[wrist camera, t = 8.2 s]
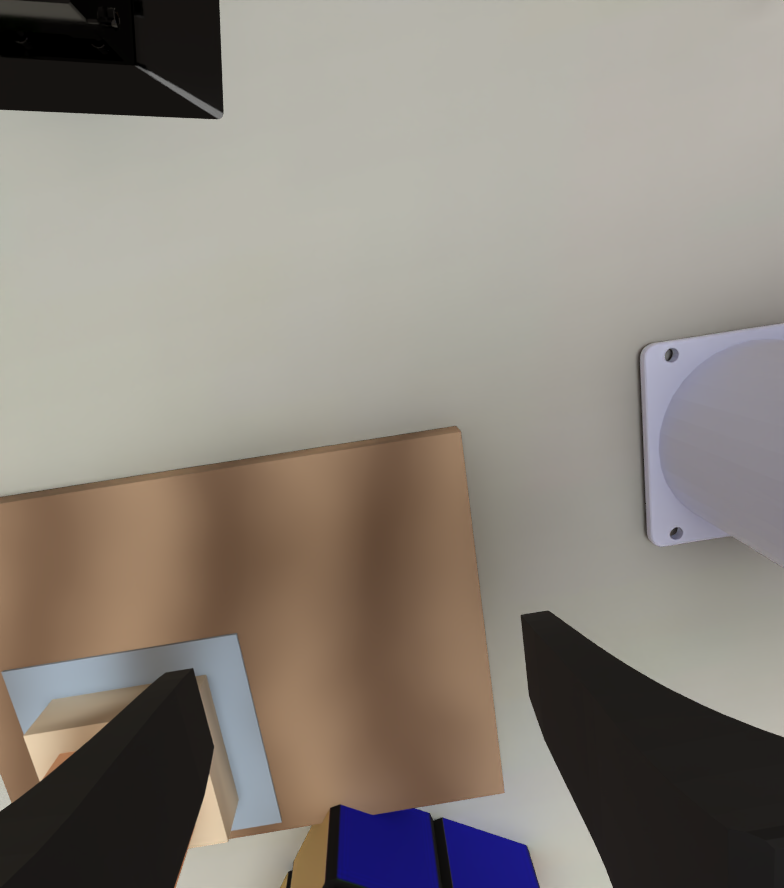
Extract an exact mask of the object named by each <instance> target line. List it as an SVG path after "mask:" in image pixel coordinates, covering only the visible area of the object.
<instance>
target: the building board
mask: <svg viewBox="0 0 784 888" xmlns="http://www.w3.org/2000/svg"><path fill="white" fill-rule="evenodd" d="M190 668H193V669H194V673H195V677H196V680H197V684H198V688H199V692H200V695H201V699H202V703H203V707H204V710H205V714H206V718H207V722H208V725H209V729H210V733H211V736H212V740H213V744H214V751H213V757H212V762H211V768H210V773H209V778H208V782H207V787H206V791H205V796H204V799H203V802H202V805H201V809H200V812H199V815H198V818H197V821H196V824H195V825H196V826H195V829H194V832H193V835H192V838H191V841H190V844H189V847H188V849H189V848H195V847H201V846H207V845H213V844H219V843H225V842H228V841H229V839H232V838H238V837H244V836H250V835H256V834H262V833H268V832H274V831H280V830H286V829H292V828H298V827H304V826H310V825H316V824H322V822H323V820H324V818H325V817H326V815H327V813H328V811H329V809H330V808H331V807H334V806H336V805H339V804H341V805H344V806H347V807H350V808H353V809H356V810H359V811H362V812H365V813H368V814H371V815H375V814H381V813H387V812H393V811H399V810H405V809H411V808H417V807H423V806H429V805H435V804H441V803H447V802H453V801H459V800H465V799H471V798H477V797H483V796H489V795H495V794H501V793H504V784H503V776H502V768H501V760H500V751H499V743H498V735H497V727H496V718H495V710H494V702H493V694H492V685H491V677H490V669H489V661H488V652H487V644H486V636H485V628H484V619H483V611H482V603H481V595H480V586H479V578H478V570H477V562H476V553H475V545H474V537H473V529H472V520H471V512H470V504H469V495H468V487H467V479H466V471H465V462H464V454H463V446H462V438H461V431H460V430H459V429H458V428H457V426H453V427H447V428H440V429H434V430H428V431H421V432H415V433H408V434H402V435H395V436H389V437H383V438H376V439H370V440H363V441H357V442H351V443H344V444H338V445H331V446H325V447H319V448H312V449H306V450H299V451H293V452H287V453H280V454H274V455H267V456H261V457H255V458H248V459H242V460H235V461H229V462H223V463H216V464H210V465H203V466H197V467H190V468H184V469H178V470H171V471H165V472H158V473H152V474H146V475H139V476H133V477H126V478H120V479H114V480H107V481H101V482H94V483H88V484H82V485H75V486H69V487H62V488H56V489H50V490H43V491H37V492H30V493H24V494H18V495H11V496H5V497H0V774H1V776H2V779H3V781H4V784H5V787H6V789H7V792H8V795H9V797H10V800H11V802H12V803H13V802H14V801H15V800H17V799H18V798H19V797H21V796H22V795H23V794H25V793H26V792H27V791H29V790H30V789H31V788H32V787H34V786H35V785H36V784H37V783H39V782H40V781H41V780H42V779H43V777H44V776H45V775H46V773H47V772H48V770H49V769H50V767H51V766H52V764H53V763H54V761H55V760H56V758H57V757H58V755H59V754H61V753H67V752H74V751H77V750H78V749H79V748H80V747H82V746H83V745H84V744H85V743H86V742H88V741H89V740H90V739H91V738H92V737H93V736H94V735H95V734H97V733H98V732H99V731H100V730H101V729H102V728H103V727H104V726H105V725H106V724H108V723H109V722H110V721H111V720H112V719H113V718H114V717H115V716H116V715H118V714H119V713H120V712H121V711H122V710H123V709H124V708H125V707H126V706H127V705H129V704H130V703H131V702H132V701H133V700H134V699H135V698H136V697H137V696H138V695H139V694H141V693H142V692H143V691H144V690H145V689H146V688H147V687H148V686H150V685H151V684H152V683H153V682H154V681H155V680H157V679H158V678H159V677H160V676H162V675H163V674H164V673H165V672H172V671H178V670H184V669H190Z"/></svg>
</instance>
